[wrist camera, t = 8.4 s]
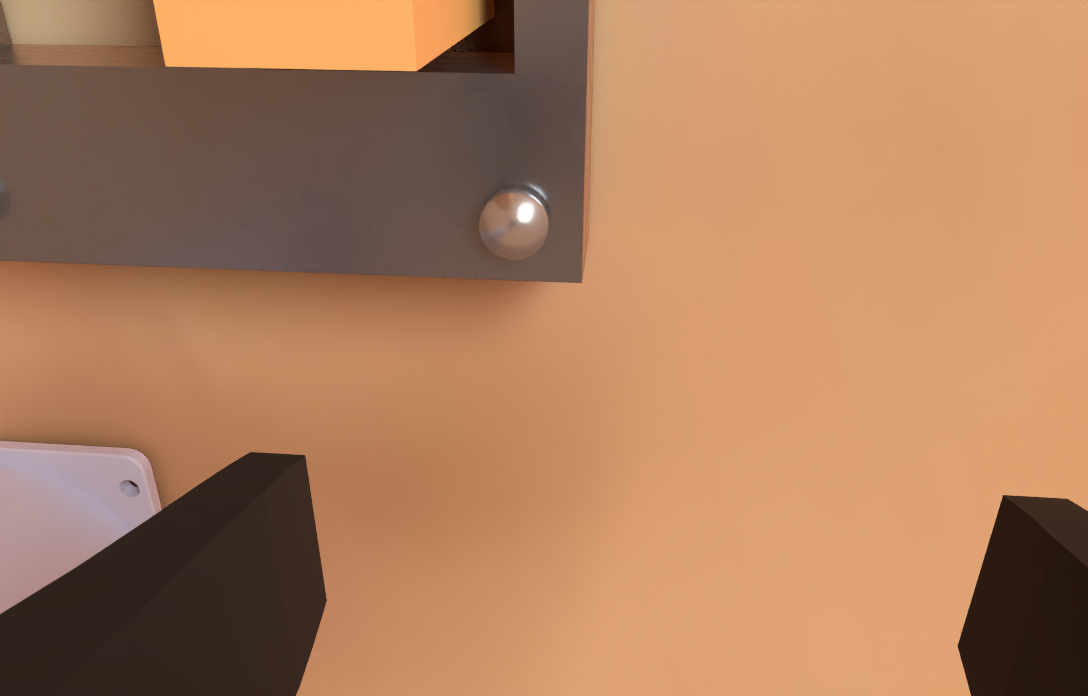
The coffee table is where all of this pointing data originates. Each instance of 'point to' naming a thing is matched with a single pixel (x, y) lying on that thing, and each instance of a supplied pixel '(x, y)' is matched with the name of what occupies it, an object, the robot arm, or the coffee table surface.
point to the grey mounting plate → (305, 159)
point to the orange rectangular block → (314, 32)
